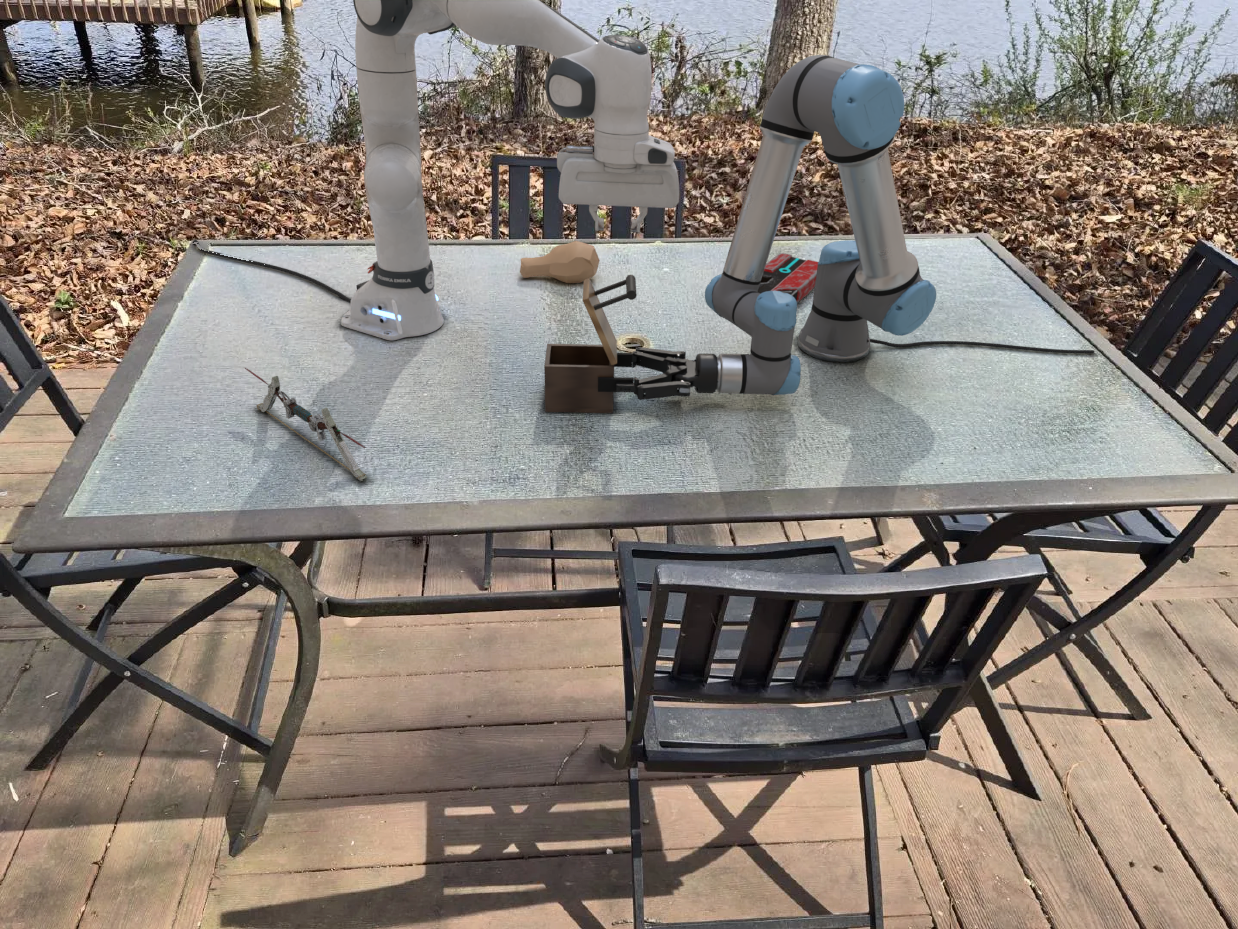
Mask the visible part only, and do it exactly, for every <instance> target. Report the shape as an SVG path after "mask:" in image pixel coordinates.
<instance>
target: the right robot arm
mask: <svg viewBox="0 0 1238 929" xmlns="http://www.w3.org/2000/svg"><path fill="white" fill-rule="evenodd" d="M904 114H905V96H904V92H903V89H902V87H901V85H900V83H899V82H898V80H897V79H896V77H895V76H893V75H892V74H891V73H889V72H887V71H886V70H883V69H880V68H879V67H877V66H875V65H872V64H864V63H857V62H853V61H849V60H846V59H841V58H837V57H834V56H830V55H827V54H813V55H809V56H807V57H805V58H802V59H801V60H799V61H797V62H796V63H795V64H793V65H792V66H791V67H790V68H789V69H788V70H787V71H786V72H785V73H784V74H783V75H782V76H781V78H780V80H778V83H777V84H776V85H775V87H774V88H773V90H772V93H771V95H770V97H769V98H768V101H767V103H766V106H765V109H764V111H763V114H762V117H761V120H760V125H759V129H760V132H761V134H762V138H761V141H760V143H759V148H758V150H757V151H758V152H757V154H756V157H755V161H754V163H753V164H754V165H753V167H752V170H751V175H750V178H749V182H748V185H747V188H746V191H745V195H744V197H743V201H742V205H741V209H740V212H739V216H738V219H737V222H736V225H735V229H734V232H733V235H732V239H731V243H730V246H729V249H728V253H727V256H726V258H725V263H724V266H723V269H722V270H723V271H722V273H721V274H717V275H715V276H714V277H713V278H711V279H710V281H709V283H708V284H707V285H706V287H705V291H704V301H705V304H706V305H707V306H708V308H709V309H711V310H712V311H713V312H714V313H715V314H716V315H718V316H719V318H722V319H724V320H726V321H727V322H729V323H731V324H733V325H734V326H736V327H737V328H738V329H740V330H741V331H743V332H744V333H746V334H747V335H749V336H750V337H751V339H750V350H749V353H719V354H718V356H717V355H716V353H700V352H699V353H697V354H696V356H695V359H694V360H693V359H688V358H686V355H687V352H686V351H685V350H684V351H683V350H678V351H677V350H676V351H675V350H674V351H673V350H665V349H658V348H650V347H643V346H636V347H635V350H633V351H632V352H617V364H614V368H632V369H634V368H636V367H641V368H645V369H649V370H652V371H656V372H660V374H656V375H653V376H648V377H644V378H640V379H639V378H638V377H636V376H634V377H625V376H624V377H623V376H622V377H621V376H620V377H619V376H618V377H617V376H614V377H598V392H614V393H632V394H634V395H635V396H637V400H640V401H643V400H653V399H662V398H670V397H671V398H672V397H690V396H691V388H694V390H695V393H697V394H711V395H713V394H715V393H716V392H717V393H718V394H727V395H732V394H733V395H734V394H739V395H742V394H743V395H770V396H781V395H783V396H784V395H792V394H795V393H796V392H797V391H798V389H799V387H800V383H801V372H802V366H801V360H800V358H799V357H798V356H797V355H795V354H792V348H793V340H794V335H795V330H796V329H795V328H796V324H797V320H798V319H797V311H798V303H797V302H796V299H795V298H794V297H793V296H792V295H790V294H788V293H782V292H781V291H767V292H763V293H761V294H760V293H758V289H759V285H760V282H761V278H762V275H763V272H764V269H765V266H766V263H768V261H769V260H768V259H769V256H770V253H771V251H772V248H773V244H774V241H775V237H776V235H777V231H778V230H779V229H778V228H779V226H780V222H781V219H782V216H783V213H784V210H785V207H786V204H787V201H788V197H789V195H790V191H791V189H792V185H793V182H794V179H795V175H796V173H797V170H798V167H799V163H800V160H801V157H802V154H803V150H804V148H805V147H806V146H807V145H810V144H811V143H812V142H813V139H814V135H815V132H816V133H818V134H819V136H820V140H821V143H822V148H823V151H824V155H825V157H826V159H827V160H828V161H829V162H830V163H832V164H835V165H836V166H837V170H838V173H839V179H840V182H841V186H842V191H843V194H844V199H845V203H846V207H847V212H848V216H849V220H850V225H851V228H852V233H853V236H854V237H853V238H854V240H851V239H848V240H847V239H845V240H837V241H832V242H829V243H827V244H826V245H824V246H823V247H822V248H821V251H820V255H819V260H818V261H817V262H818V267H817V275H816V282H815V287H814V288H813V296H812V304H811V310H810V312H809V314H808V317H807V318H806V321H805V323H804V325H803V327H801V329H800V331H799V333H798V339H797V346H798V348H799V349H800V350H801V351H802V352H804V354H807V355H808V356H810V357H813V358H815V359H818V360H822V361H827V362H831V363H832V362H834V363H851V362H855V361H856V362H857V361H860V360H862V359H864V358H865V357H867V356H868V354H869V352H870V347H871V343H872V344H878V345H882V346H887V347H890V348H891V347H892V348H910V347H911V348H913V347H918V346H933V345H934V346H935V345H936V346H937V345H955V346H957V345H960V346H977V347H990V348H1001V349H1010V350H1011V349H1012V350H1021V351H1029V352H1030V351H1032V352H1042V353H1055V354H1080V355H1081V354H1082V355H1083V354H1090V355H1093V354H1095V350H1094V349H1060V348H1058V349H1057V348H1046V347H1045V348H1044V347H1035V346H1022V345H1014V344H1005V343H1004V344H1003V343H994V342H983V341H981V342H980V341H964V340H931V341H930V340H927V341H918V342H909V343H892V342H888V341H884V340H880V339H874V338H870V332H869V326H868V325H869V324H868V322H869V323H871V324H873V325H874V326H876V327H877V328H879V329H880V330H882V331H883V332H886V333H890V334H891V335H894V336H900V337H901V336H902V337H903V336H906V335H910V334H911V333H913V332H914V331H917V329H918V328H920V327H921V326H922V325H923V324H924V323H925V321H926V320H928V318H929V316H930V314H931V312H932V311H933V310H934V307H935V304H936V302H937V301H936V300H937V289H936V287H935V285H934V284H933V283H932V282H931V281H930V280H928V279H923V278H922V276H921V272H920V267H919V261H918V259H917V257H916V255H915V254H913V252H910V251H908V248H907V243H906V239H905V238H906V237H905V232H904V226H903V223H902V216H901V212H900V211H901V210H900V206H899V201H898V196H897V190H896V186H895V180H894V174H893V169H892V163H891V158H890V153H889V148H890V147H891V146H892V144H893V142H894V141H895V138H896V137H895V136H896V134H897V132H898V131H899V129H900V127H901V125H902V122H901V121H900V119H901V117H904Z"/></svg>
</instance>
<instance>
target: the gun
mask: <svg viewBox="0 0 1238 929" xmlns="http://www.w3.org/2000/svg"><path fill="white" fill-rule="evenodd" d="M818 262H819V261H816V260H812V259H802V258H799V257H795V256H793V255H792V254H791V253H784V252H780V253H778V254H777V255H775V256H774V257H773V258H771V259H770V260H768V261H767V263H766V266H765V269H764V272H763V275H762V278H761V282H760V285H759V289H758V293H760V294H761V293H763V292H767V291H781V292H782V293H788V294H790V295H792V296H793V297H794V298H795V299H796V302H797V304H798V303H799V302H801V301H802V300H803V299H804V298H805V297H807V296H808V295H809V294H810V293H811V292H812V291H813V290H814V289H815V282H816V275H817V267H818Z"/></svg>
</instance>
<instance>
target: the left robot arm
mask: <svg viewBox="0 0 1238 929" xmlns="http://www.w3.org/2000/svg"><path fill="white" fill-rule="evenodd" d="M352 4H353V9H354V11H355V14H356V23H355V40H354V41H355V42H354V46H355V49H354V51H355V52H354V53H355V68H356V80H357V81H356V82H357V90H358V101H359V102H358V103H359V113H360V118H361V123H362V131H363V139H364V148H365V166H364V171H363V183H364V189H365V195H366V201H367V205H368V206H367V207H368V210H369V216H370V221H371V224H372V231H373V238H374V245H375V246H374V247H375V253H376V254H375V255H376V261H374V262H373V263H372V265H371V266H369V267H368V268H367V274H370V273H372V277H371V278H370V279H369V280H365V281H362V282H360V283H358V284H356V285H355V287H356V289H355V292H354V293H353V294H352V296H351V298H350V297H348V296H347V295H345V294H343V293H342V292H340V291H338V290H337V289H334V288H333V287H331V286H330V285H327V284H326V283H324V282H322V281H320V280H318V279H315V278H313V277H311V276H308V275H306V274H304V273H300V272H298V271H294V270H291V269H289V268H285V267H281V266H277V265H274V264H269V263H265V262H261V261H256V260H252V259H248V260H249V261H246V260H241V259H237V258H233V257H228V256H224V255H220V254H223V253H222V252H217V251H213V250H210V249H208V250H209V252H208V251H204V250H202V249H201V250H199V251H200V252H202V253H204V254H207V255H212V256H215V257H219V258H223V259H227V260H232V261H235V262H241V263H245V264H250V265H254V266H258V267H263V268H266V269H271V270H275V271H278V272H281V273H285V274H289V275H292V276H295V277H298V278H300V279H303V280H306V281H308V282H310V283H313V284H314V285H317V286H319V287H321V288H323V289H325V290H327V291H328V292H330V293H331V294H333V295H334V296H337V297H339V298H340V299H342V300H343V301H345V302H348V303H350V305H349V310H347V311H346V313H344V314H343V316H342V317H341V320H340V324H341V326H342V327H344V328H347V329H350V330H354V331H357V332H360V333H364V334H367V335H370V336H373V337H377V338H380V339H383V340H387V341H396V340H397V341H398V340H401V339H404V338H412V337H420V336H423V335H427V334H430V333H431V334H432V333H434V332H436V331H437V330H439V329H441V327H442V326H443V325H444V323H445V320H444V317H443V314H442V312H441V310H440V307H439V303H438V301H439V297H438V295H437V294H436V291H435V271H434V264H433V260H432V259H431V253H430V243H429V232H428V223H427V216H426V209H425V208H426V207H425V199H424V190H423V178H422V174H423V172H422V169H423V168H422V166H423V164H422V148H421V133H420V117H419V99H418V98H419V97H418V81H417V63H416V54H415V52H416V51H415V49H416V48H415V46H416V41H417V39H418V37H419V36H421V35H423V34H429V35H435V34H438V33H440V32H446V31H448V30H450V29H453V28H455V27H457V28H458V29H459V30H461V31H462V32H463V33H465V34H466V35H467V36H469V37H471V38H473V39H475V40H477V41H479V42H481V43H483V44H487V45H492V46H493V45H494V46H521V47H529V48H535V49H537V50H542V51H543V52H546V53H549V54H551V55H552V56H553V57H555V58H556V59H554V60H553V61H551V63H550V64H549V67H548V69H547V71H546V74H545V79H544V90H545V94H546V95H545V96H546V99H547V101H548V103H549V105H550V107H551V108H552V110H553V111H554V113H556V114H557V115H558V116H560V117H562V118H564V119H571V120H574V119H575V120H577V119H583V118H590V119H592V121H593V123H594V128H593V145H573V144H571V145H570V144H569V145H565V147H563V148H560V150H559V151H558V152H557V154H556V168H557V170H558V171H559V173H560V175H559V176H560V177H559V184H558V200H559V201H560V202H561V203H562V204H563V205H580V206H581V205H582V206H588V212H589V214H590V215H591V218H592V219H593V220H594V222H595V223H594V231H595V232H604V230H605V229H604V228H605V227H604V226H605V225H604V224H605V218H604V217H600V216H599V214H598V213H597V212H598V206H608V207H630V208H631V207H634V208H638V211H639V212H638V216H637V217H636V218H632V219H631V223H630V224H631V226H630V232H631V233H641V224H642V223H643V221H644V219H645V218H646V216H647V215H648V210H649V208H658V209H659V208H660V209H674V208H676V207H677V206H678V205H679V203H680V180H679V172H678V168H677V166H676V163H675V156H676V153H675V148H674V146H673V144H671V143H670V142H668V141H666V140H664V139H661V138H658V137H656V136H653V135H651V134H650V133H649V132H650V126H649V125H650V124H649V121H648V120H649V119H648V112H649V108H650V104H651V99H652V62H651V61H652V60H651V56H650V51H649V48H648V46H646V44H644V43H643V41H641V40H639V39H637V38H634V37H631V36H627V35H621V34H607V35H605V36H603V37H601V38H600V39H598V38H597V37H595V36H594V35H593V34H591V33H590V32H588V31H587V30H586V29H584V28H582V27H581V26H579V25H578V24H577V23H575V22H574V21H572V20H571V19H569V18H568V17H566V16H565V15H563V14H562V13H560V12H559V11H558V10H556V9H555V8H553V7H551V6H550V5H548V4H546V3H544V2H543V1H541V0H352ZM194 242H198V243H197V244H199V245H200V242H199V241H198V240H197V239H193V240H192V243H194ZM192 245H193V246H196V245H195V244H192ZM212 252H214V253H212ZM216 253H217V254H216ZM251 261H253V262H251ZM264 264H265V265H264Z"/></svg>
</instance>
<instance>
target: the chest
mask: <svg viewBox="0 0 1238 929" xmlns="http://www.w3.org/2000/svg"><path fill="white" fill-rule="evenodd" d="M543 366H544V367H543V368H544V369H543V370H544V372H543V373H544V412H545V413H587V414H589V413H591V414H613V413H614V393H615V392H598V377H615V367H614V365H611V363H610V361H609V359H608V357H607V354H606V352H605V350H604V348H603V345H602V344H589V343H588V344H586V343H584V344H582V343H546V350H545V357H544V365H543Z"/></svg>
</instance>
